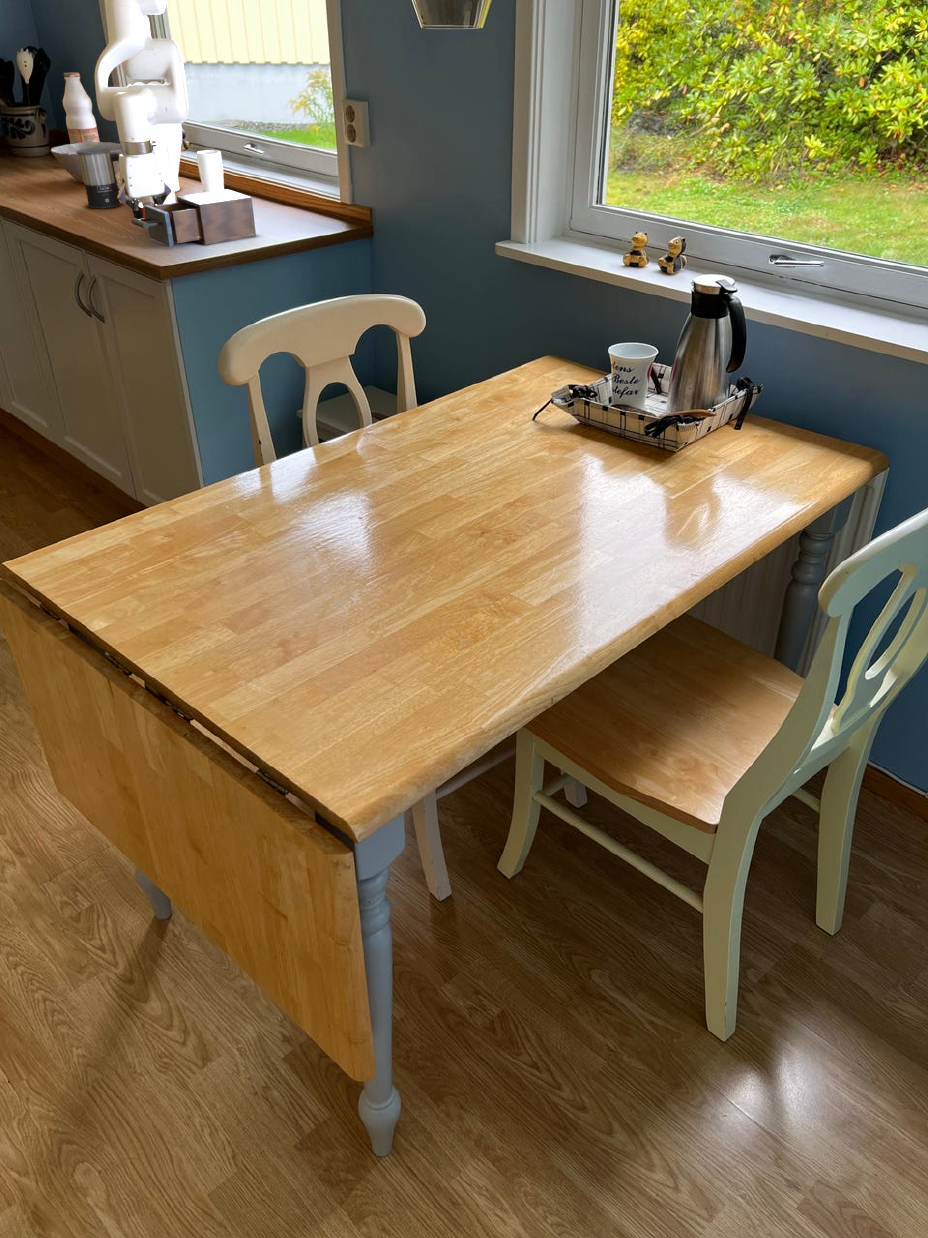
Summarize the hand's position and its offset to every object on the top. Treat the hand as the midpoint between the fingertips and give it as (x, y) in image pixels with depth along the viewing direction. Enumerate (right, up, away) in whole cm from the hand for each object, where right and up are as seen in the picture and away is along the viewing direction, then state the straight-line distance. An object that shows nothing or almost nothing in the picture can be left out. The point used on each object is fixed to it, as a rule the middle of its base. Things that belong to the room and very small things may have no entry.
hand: (149, 222), depth 255 cm
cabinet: (+19, -4, -2) cm, 20 cm away
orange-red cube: (0, 0, 0) cm, 0 cm away
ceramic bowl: (-35, +36, +56) cm, 75 cm away
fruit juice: (-46, +51, +78) cm, 104 cm away
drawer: (+10, -8, -9) cm, 16 cm away
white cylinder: (+11, +14, +24) cm, 30 cm away
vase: (-9, +29, +45) cm, 54 cm away
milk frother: (-23, +18, +30) cm, 42 cm away
